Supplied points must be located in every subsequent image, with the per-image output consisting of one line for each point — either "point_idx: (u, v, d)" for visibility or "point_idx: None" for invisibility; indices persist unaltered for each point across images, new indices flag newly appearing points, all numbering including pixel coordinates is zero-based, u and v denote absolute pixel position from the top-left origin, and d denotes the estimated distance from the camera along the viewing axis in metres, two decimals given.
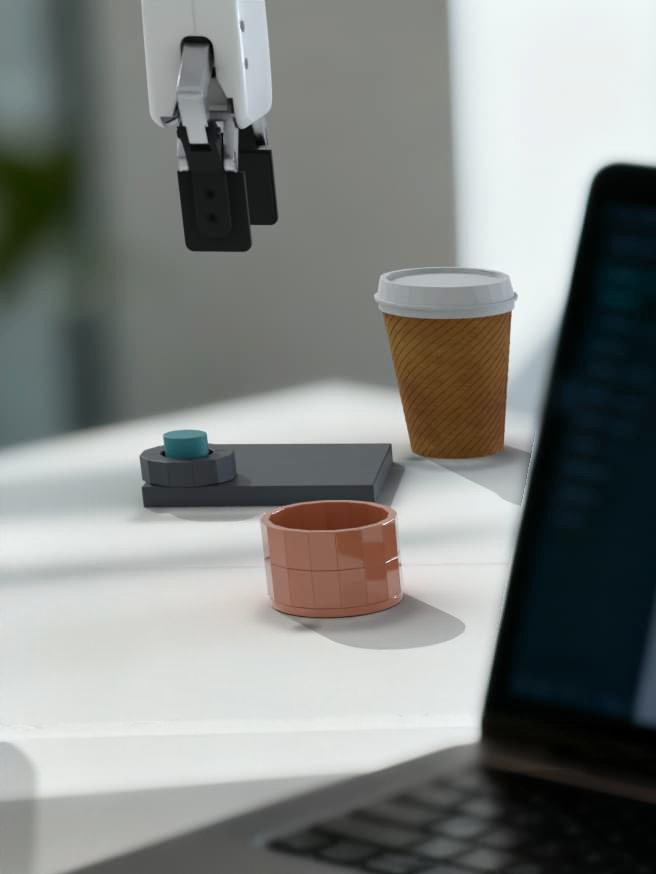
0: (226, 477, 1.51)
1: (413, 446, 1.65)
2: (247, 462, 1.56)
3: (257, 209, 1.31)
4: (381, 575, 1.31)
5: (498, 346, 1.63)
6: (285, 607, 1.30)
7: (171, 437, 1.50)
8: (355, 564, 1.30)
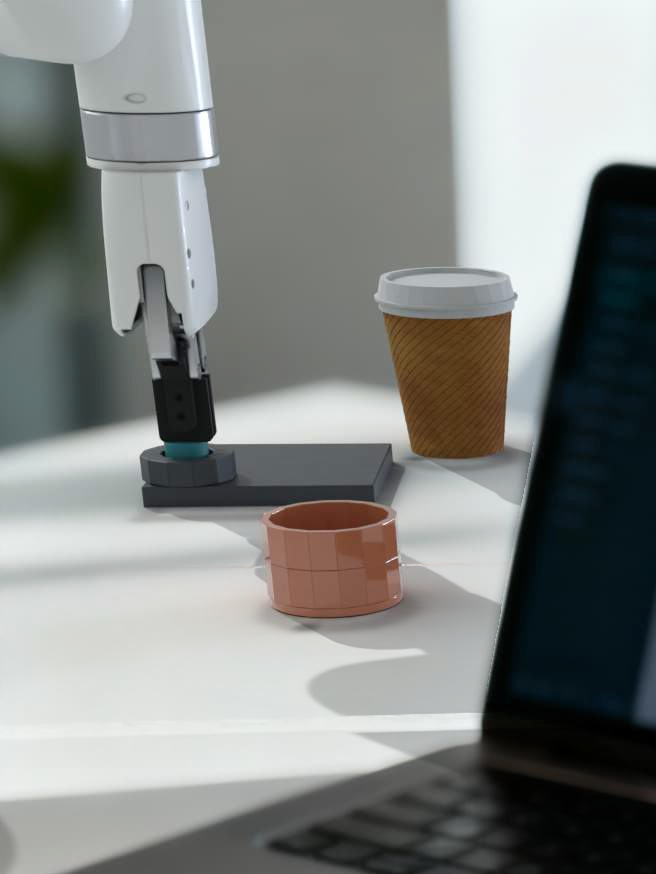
0: (226, 477, 1.51)
1: (413, 446, 1.65)
2: (247, 462, 1.56)
3: None
4: (381, 575, 1.31)
5: (498, 346, 1.63)
6: (285, 607, 1.30)
7: (172, 443, 1.50)
8: (355, 564, 1.30)
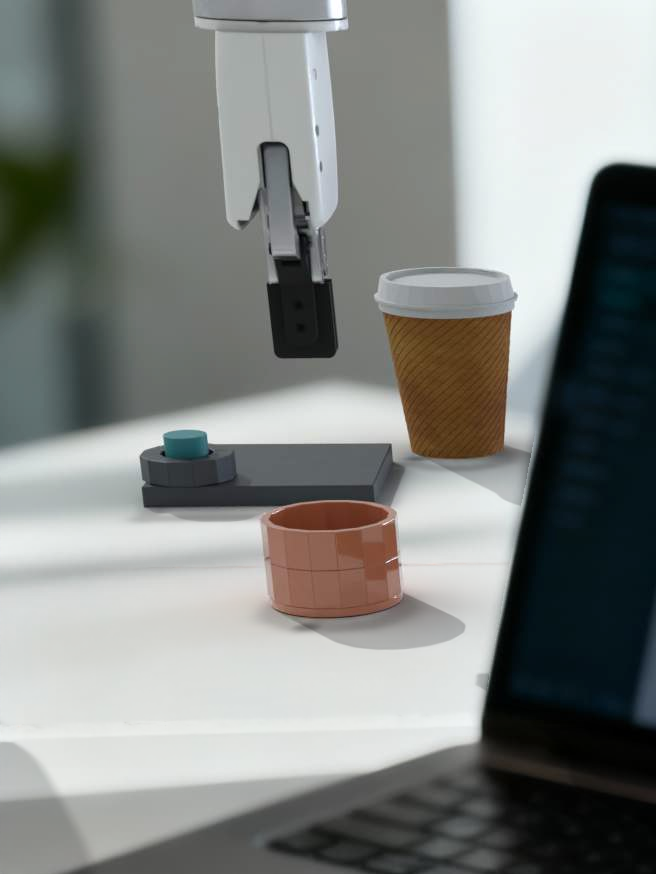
0: (226, 477, 1.51)
1: (413, 446, 1.65)
2: (247, 462, 1.56)
3: None
4: (381, 575, 1.31)
5: (498, 346, 1.63)
6: (285, 607, 1.30)
7: (171, 437, 1.50)
8: (355, 564, 1.30)
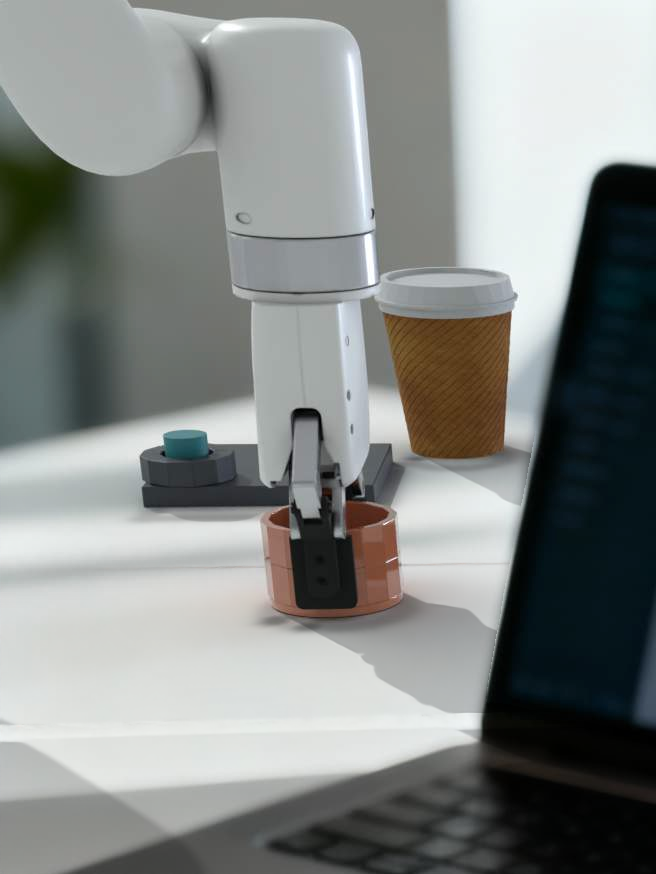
0: (226, 477, 1.51)
1: (413, 446, 1.65)
2: (247, 462, 1.56)
3: None
4: (381, 575, 1.31)
5: (498, 346, 1.63)
6: (285, 607, 1.30)
7: (171, 437, 1.50)
8: (355, 564, 1.30)
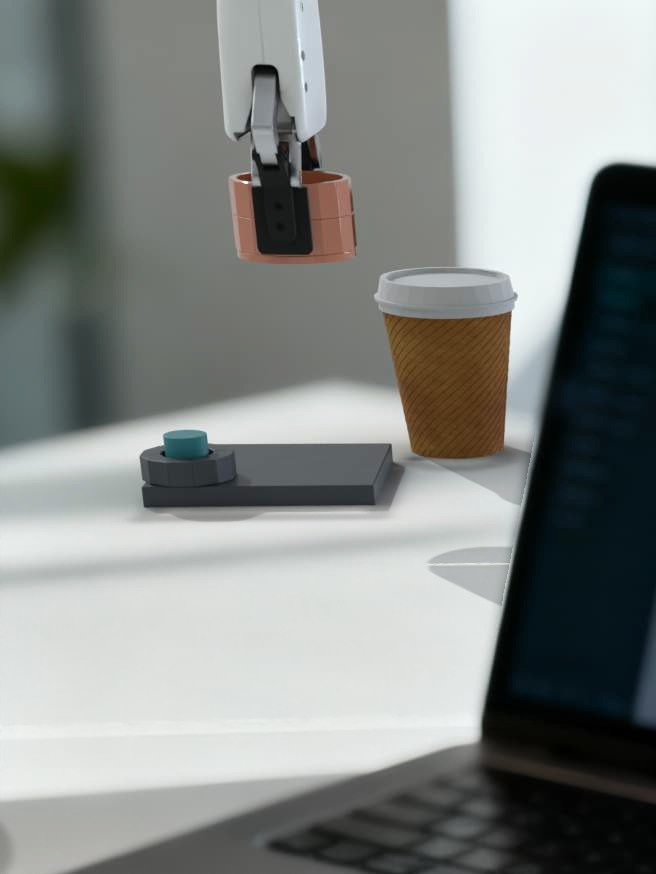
0: (226, 477, 1.51)
1: (413, 446, 1.65)
2: (247, 462, 1.56)
3: None
4: (335, 229, 1.47)
5: (498, 346, 1.63)
6: (250, 256, 1.47)
7: (171, 437, 1.50)
8: (312, 216, 1.46)
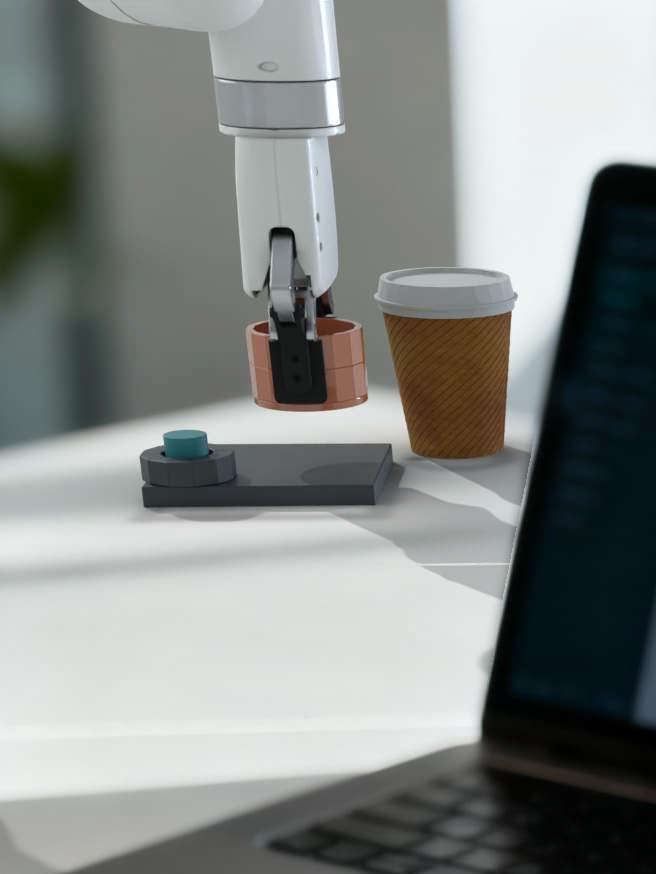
0: (226, 477, 1.51)
1: (413, 446, 1.65)
2: (247, 462, 1.56)
3: None
4: (349, 377, 1.54)
5: (498, 346, 1.63)
6: (267, 403, 1.53)
7: (171, 437, 1.50)
8: (326, 366, 1.53)
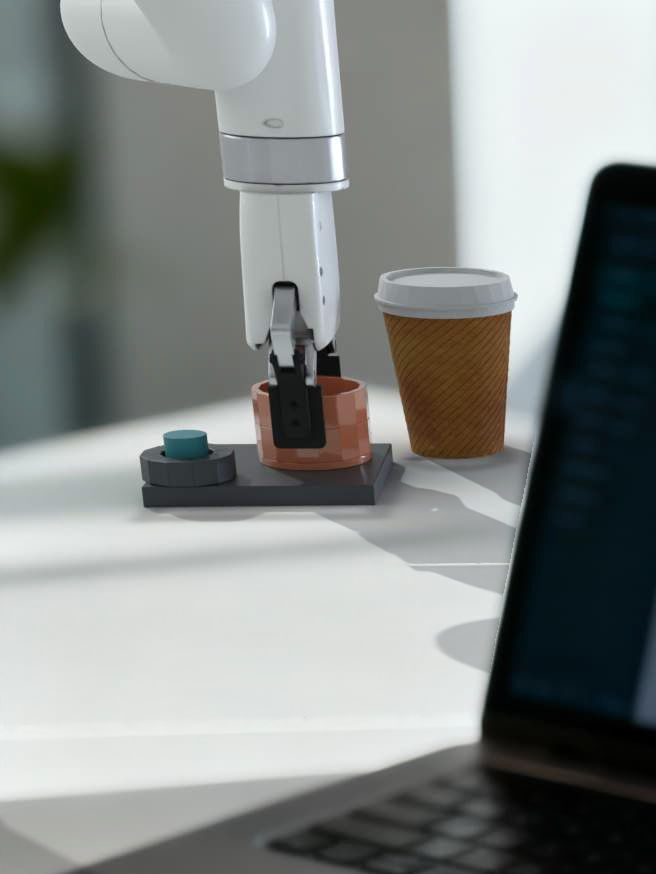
0: (226, 477, 1.51)
1: (413, 446, 1.65)
2: (247, 462, 1.56)
3: None
4: (353, 436, 1.55)
5: (498, 346, 1.63)
6: (272, 462, 1.55)
7: (171, 437, 1.50)
8: (331, 425, 1.54)
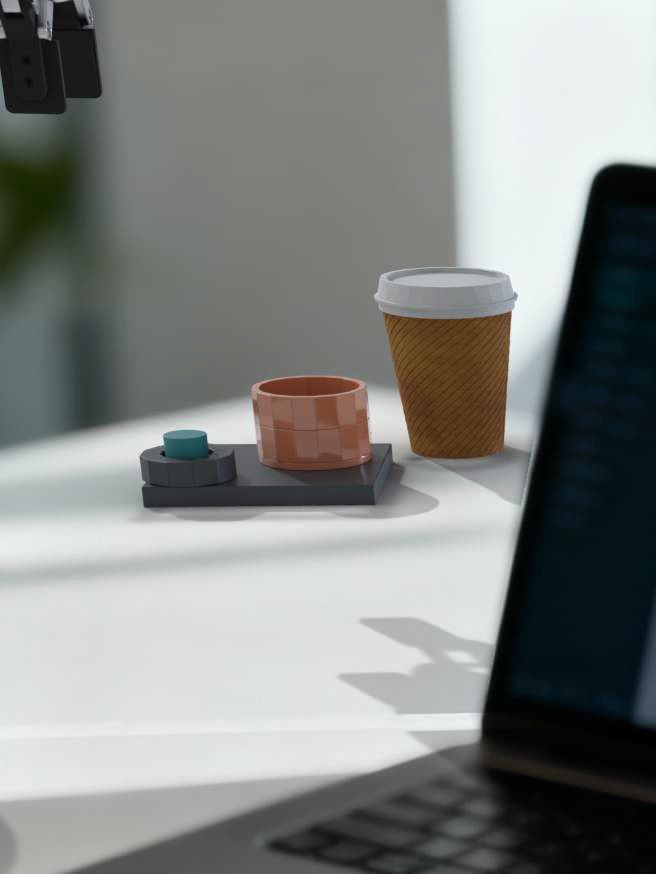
0: (226, 477, 1.51)
1: (413, 446, 1.65)
2: (247, 462, 1.56)
3: (82, 83, 1.44)
4: (353, 436, 1.55)
5: (498, 346, 1.63)
6: (272, 462, 1.55)
7: (171, 437, 1.50)
8: (331, 425, 1.54)
